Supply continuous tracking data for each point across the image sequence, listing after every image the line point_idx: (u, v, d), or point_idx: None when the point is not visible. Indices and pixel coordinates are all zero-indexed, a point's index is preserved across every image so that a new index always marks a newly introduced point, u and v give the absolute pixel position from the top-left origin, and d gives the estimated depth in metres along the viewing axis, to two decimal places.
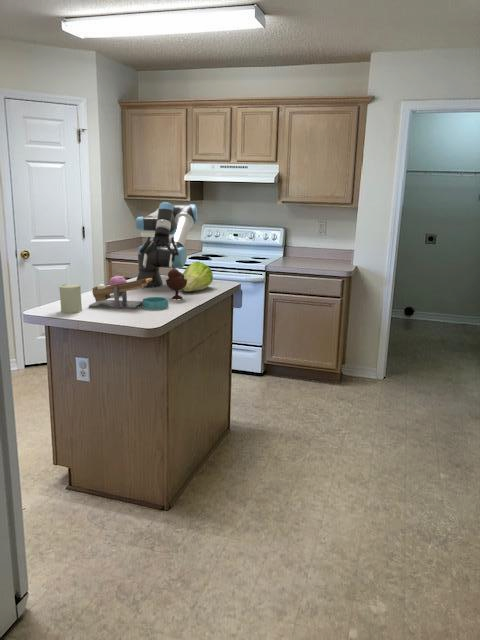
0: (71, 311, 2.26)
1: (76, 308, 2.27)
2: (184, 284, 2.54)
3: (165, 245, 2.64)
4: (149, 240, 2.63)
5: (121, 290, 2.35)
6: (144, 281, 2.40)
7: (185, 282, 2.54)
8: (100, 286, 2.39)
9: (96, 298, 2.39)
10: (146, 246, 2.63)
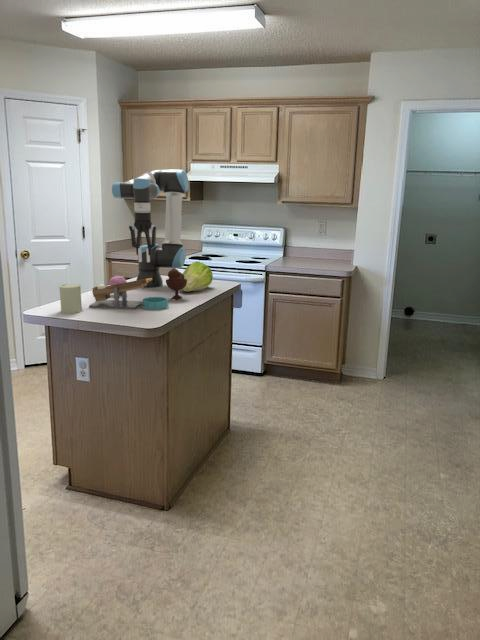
0: (71, 311, 2.26)
1: (76, 308, 2.27)
2: (184, 284, 2.54)
3: None
4: (132, 229, 2.41)
5: (121, 290, 2.35)
6: (144, 281, 2.40)
7: (185, 282, 2.54)
8: (100, 286, 2.39)
9: (96, 298, 2.39)
10: (134, 236, 2.43)
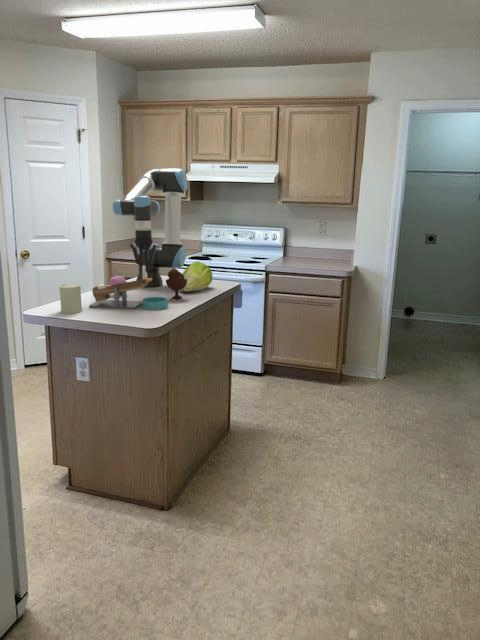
0: (71, 311, 2.26)
1: (76, 308, 2.27)
2: (184, 284, 2.54)
3: None
4: (134, 247, 2.43)
5: (121, 290, 2.35)
6: (144, 281, 2.40)
7: (185, 282, 2.54)
8: (100, 286, 2.39)
9: (96, 298, 2.39)
10: (136, 254, 2.45)
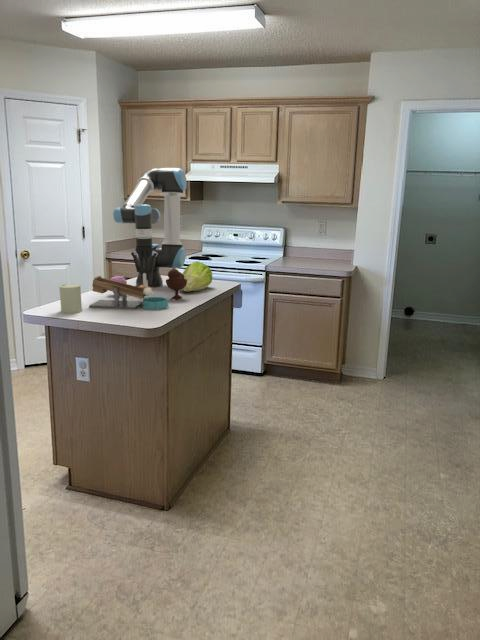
0: (71, 311, 2.26)
1: (76, 308, 2.27)
2: (184, 284, 2.54)
3: None
4: (134, 255, 2.44)
5: (121, 292, 2.36)
6: None
7: (185, 282, 2.54)
8: (144, 290, 2.36)
9: (94, 288, 2.38)
10: (137, 262, 2.46)
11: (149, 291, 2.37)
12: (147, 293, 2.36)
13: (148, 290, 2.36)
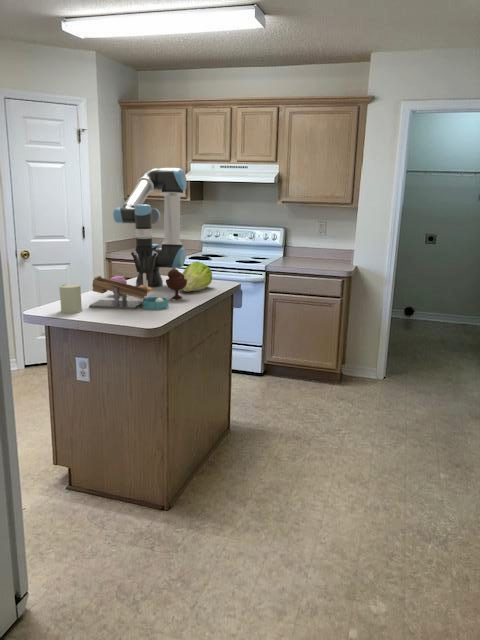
0: (71, 311, 2.26)
1: (76, 308, 2.27)
2: (184, 284, 2.54)
3: None
4: (134, 255, 2.44)
5: (121, 292, 2.36)
6: (145, 291, 2.41)
7: (185, 282, 2.54)
8: None
9: (94, 288, 2.38)
10: (137, 262, 2.46)
11: None
12: (157, 301, 2.37)
13: None
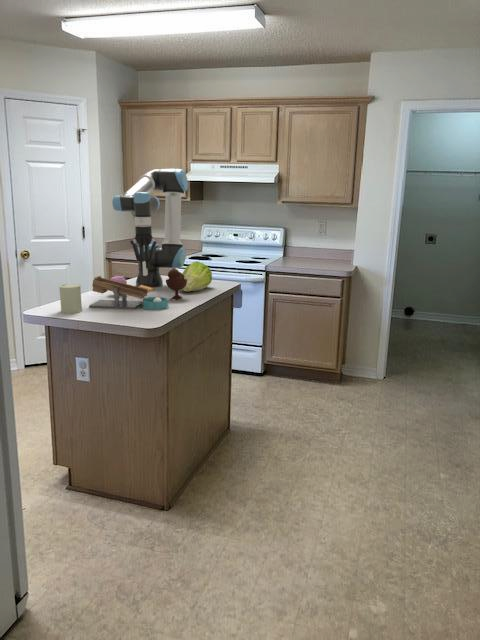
0: (71, 311, 2.26)
1: (76, 308, 2.27)
2: (184, 284, 2.54)
3: None
4: (134, 243, 2.43)
5: (121, 292, 2.36)
6: (145, 291, 2.41)
7: (185, 282, 2.54)
8: None
9: (94, 288, 2.38)
10: (137, 250, 2.45)
11: None
12: (155, 301, 2.37)
13: None
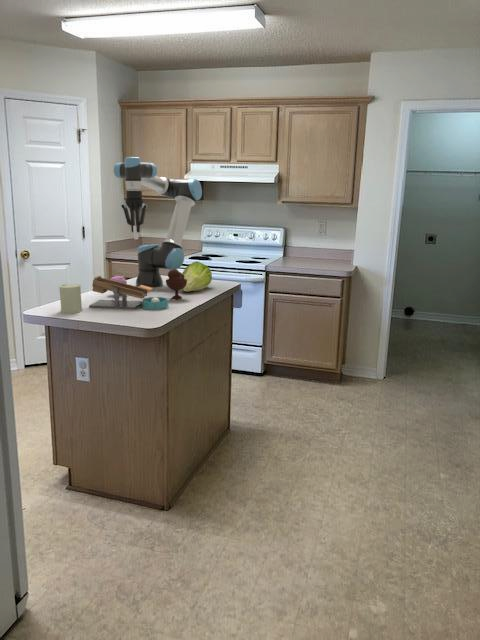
0: (71, 311, 2.26)
1: (76, 308, 2.27)
2: (184, 284, 2.54)
3: None
4: (125, 207, 2.51)
5: (121, 292, 2.36)
6: (145, 291, 2.41)
7: (185, 282, 2.54)
8: None
9: (94, 288, 2.38)
10: (128, 214, 2.52)
11: None
12: None
13: None
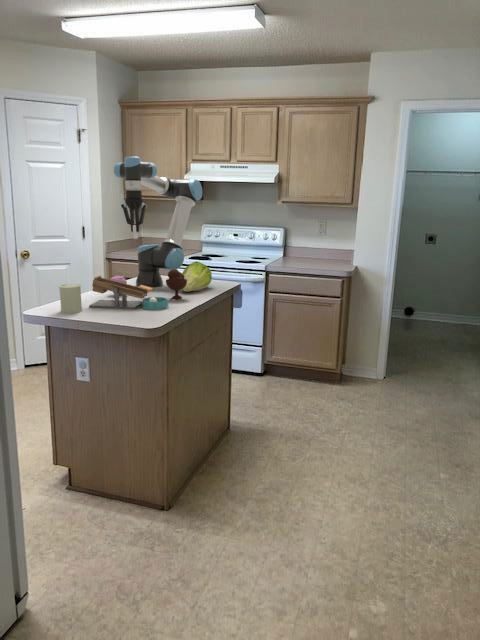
0: (71, 311, 2.26)
1: (76, 308, 2.27)
2: (184, 284, 2.54)
3: None
4: (124, 207, 2.51)
5: (121, 292, 2.36)
6: (145, 291, 2.41)
7: (185, 282, 2.54)
8: (153, 301, 2.37)
9: (94, 288, 2.38)
10: (127, 214, 2.52)
11: None
12: None
13: None
